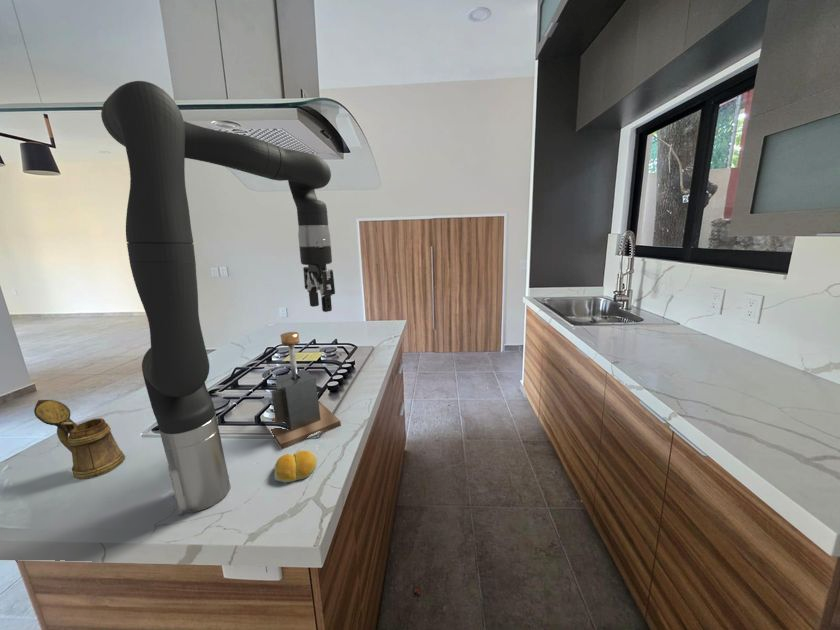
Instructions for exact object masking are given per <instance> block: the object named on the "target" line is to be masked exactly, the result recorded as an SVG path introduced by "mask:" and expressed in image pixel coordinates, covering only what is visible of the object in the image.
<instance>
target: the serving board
mask: <svg viewBox="0 0 840 630" xmlns="http://www.w3.org/2000/svg"><path fill="white" fill-rule="evenodd" d="M318 402H319V410H320V418H321V420H320V421H317V422H314V423H312V424H309V425H306V426H304V427H301V428H299V429H296V430H293V431H291V430H287V429H282V428H274V429H271V431H272V433H273V435H274V437H273V439H274V440H275V443H277V444H278V447H280V449H281V450H284V449H286V448H290V447H291V446H294V445H296V444H299V443H301V442H304V441H306V440H308V439H307V437H308V436H309V435H311V434H314V433H316V432H318V431H322V432H323V433H322V434H324V433H325V432H328V431H329V432H330V430H331V431H332V430H334V429H335V428H338V427H341V425H342V424H341V419H339V418H338V417H337V416H336V415H335V414H334V413H333V412H332V411H330V409H328V408H327V406H325V405H324V404H323V403H322V402H321V401H319V400H318ZM271 420H272V421H275V422H284V421H283V419H282V420H279V421H277V420H276V419H275V418H273V419H271Z"/></svg>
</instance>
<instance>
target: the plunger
mask: <svg viewBox="0 0 840 630" xmlns="http://www.w3.org/2000/svg"><path fill="white" fill-rule="evenodd" d="M299 335H300V334H299V332H298V331H289V332H288V331H287V332H284V333H281V334H280V341H281V345H282V346H285V347H288V353H289V362H290V367H291V373H292V376H293V379H292V380H296V379H299V378H298V372H297V371H298V365H297V358H296V353H295V352H296V350H295V345H298V344H299V343H300V337H299Z"/></svg>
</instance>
